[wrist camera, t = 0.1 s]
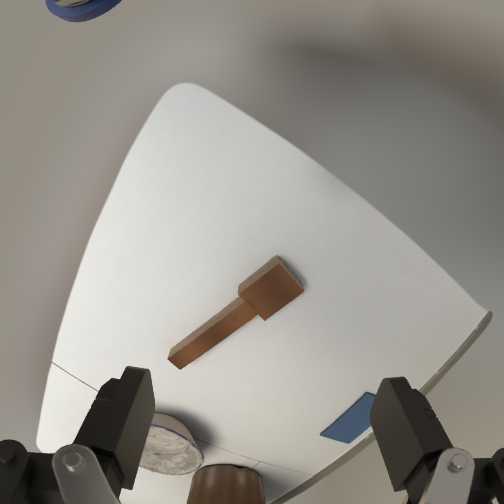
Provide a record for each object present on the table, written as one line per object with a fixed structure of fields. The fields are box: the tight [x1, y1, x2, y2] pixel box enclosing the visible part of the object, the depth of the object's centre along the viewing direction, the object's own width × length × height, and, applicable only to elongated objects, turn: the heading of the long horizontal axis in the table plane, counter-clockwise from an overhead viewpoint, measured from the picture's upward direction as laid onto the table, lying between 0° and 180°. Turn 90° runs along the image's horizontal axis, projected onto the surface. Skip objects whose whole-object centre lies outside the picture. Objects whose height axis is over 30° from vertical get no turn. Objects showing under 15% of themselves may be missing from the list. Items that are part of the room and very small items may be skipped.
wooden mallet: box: [168, 256, 304, 370], centre depth 33 cm, size 16×4×2 cm, turn 131°
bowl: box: [139, 413, 204, 475], centre depth 38 cm, size 13×13×5 cm
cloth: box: [320, 392, 376, 444], centre depth 40 cm, size 10×6×1 cm, turn 148°
